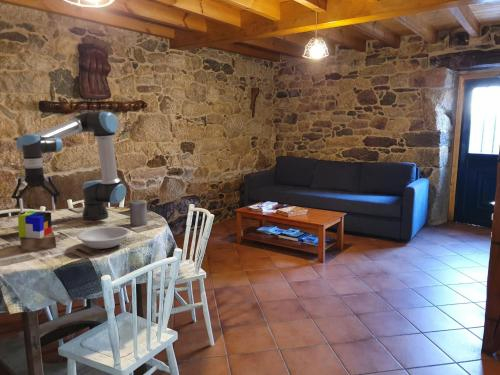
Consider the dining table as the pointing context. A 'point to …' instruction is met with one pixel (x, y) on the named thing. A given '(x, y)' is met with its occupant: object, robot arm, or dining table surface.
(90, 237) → the soup bowl
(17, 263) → the dining table surface
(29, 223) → the puzzle toy
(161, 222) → the dining table surface
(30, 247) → the walnut base block
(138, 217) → the pillar candle
